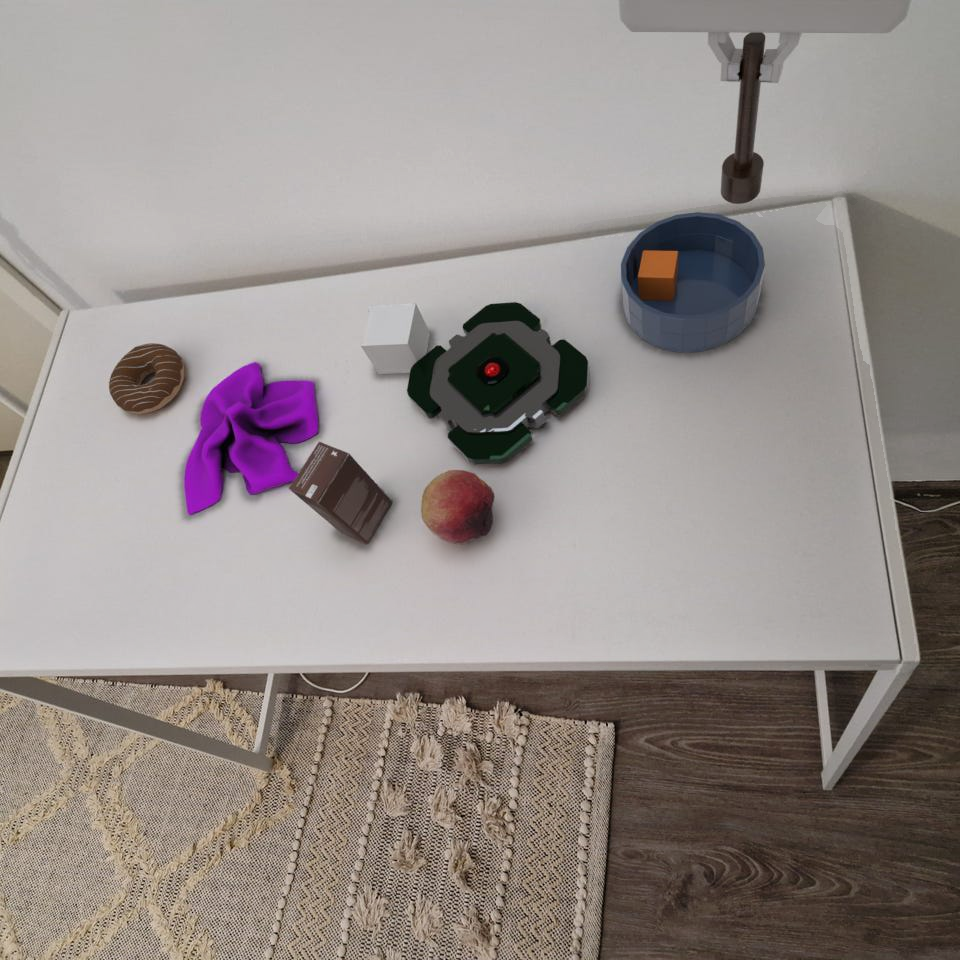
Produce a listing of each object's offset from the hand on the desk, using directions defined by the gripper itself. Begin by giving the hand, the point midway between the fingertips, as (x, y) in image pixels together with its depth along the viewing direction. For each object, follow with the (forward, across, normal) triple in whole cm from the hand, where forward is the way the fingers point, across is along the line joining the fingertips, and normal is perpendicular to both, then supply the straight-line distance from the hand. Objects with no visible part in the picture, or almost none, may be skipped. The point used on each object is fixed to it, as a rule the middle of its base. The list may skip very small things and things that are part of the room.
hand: (750, 77), depth 57 cm
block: (+28, +8, 0) cm, 29 cm away
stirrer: (+12, 0, 0) cm, 12 cm away
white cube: (+28, +36, +15) cm, 48 cm away
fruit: (+28, +19, +34) cm, 48 cm away
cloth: (+28, +51, +32) cm, 67 cm away
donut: (+28, +70, +29) cm, 81 cm away
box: (+28, +31, +37) cm, 56 cm away
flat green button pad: (+28, +22, +17) cm, 40 cm away
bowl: (+28, +4, 0) cm, 29 cm away
